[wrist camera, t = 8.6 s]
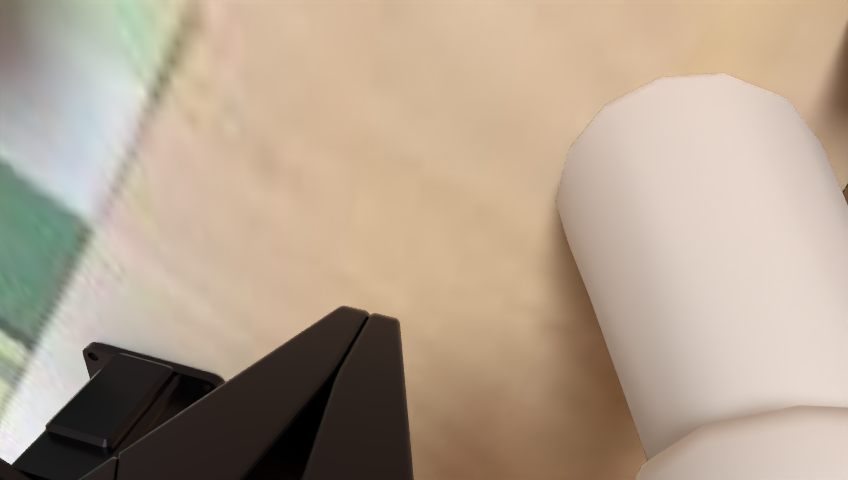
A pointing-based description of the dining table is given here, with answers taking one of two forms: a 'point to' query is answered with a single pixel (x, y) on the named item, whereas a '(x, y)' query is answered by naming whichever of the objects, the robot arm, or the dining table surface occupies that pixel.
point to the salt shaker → (716, 277)
